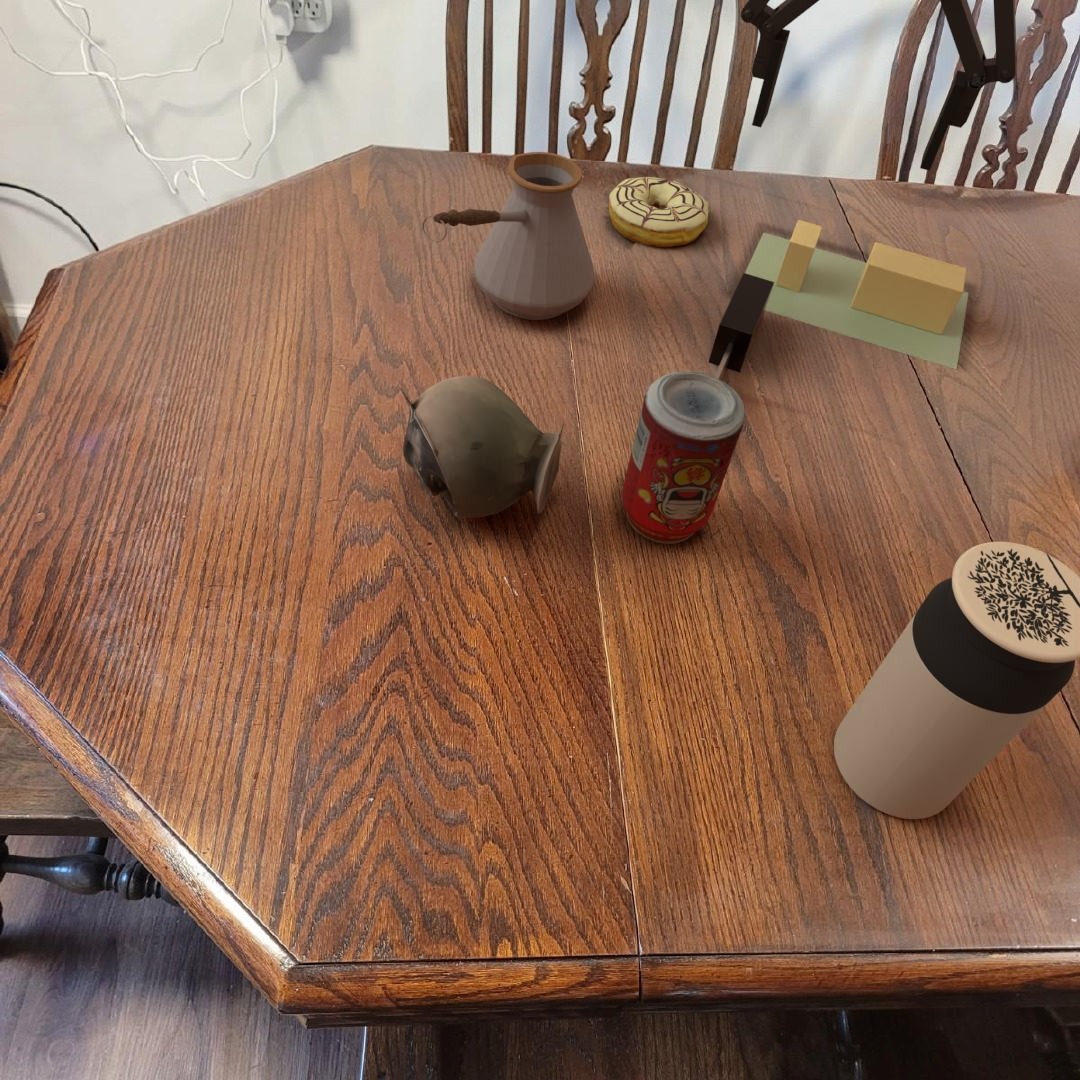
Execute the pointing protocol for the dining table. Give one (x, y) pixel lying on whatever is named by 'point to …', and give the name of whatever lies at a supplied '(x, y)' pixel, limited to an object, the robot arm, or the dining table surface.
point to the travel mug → (962, 679)
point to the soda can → (680, 454)
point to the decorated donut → (657, 211)
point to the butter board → (849, 304)
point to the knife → (740, 324)
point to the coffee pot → (532, 240)
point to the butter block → (909, 288)
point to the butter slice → (798, 255)
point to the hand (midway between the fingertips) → (841, 141)
